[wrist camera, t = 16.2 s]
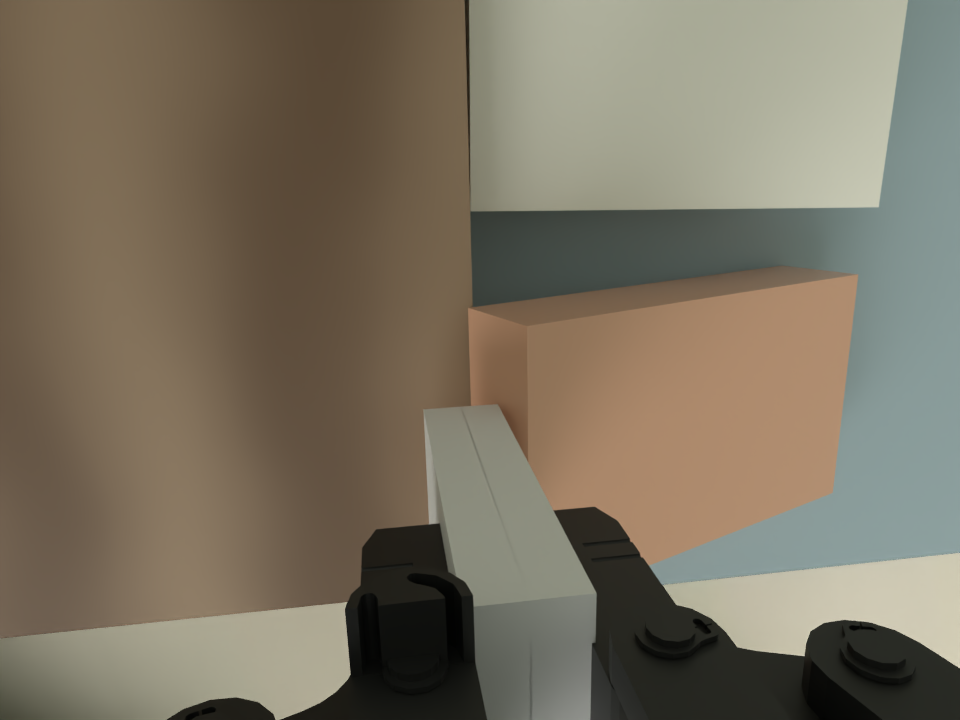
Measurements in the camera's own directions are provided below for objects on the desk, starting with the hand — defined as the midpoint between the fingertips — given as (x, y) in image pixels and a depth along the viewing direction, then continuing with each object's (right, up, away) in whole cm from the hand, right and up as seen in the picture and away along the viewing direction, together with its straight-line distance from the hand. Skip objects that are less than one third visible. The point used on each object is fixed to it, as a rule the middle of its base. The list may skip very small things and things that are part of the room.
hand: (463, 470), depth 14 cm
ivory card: (+5, +9, +3) cm, 11 cm away
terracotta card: (+4, +1, +4) cm, 6 cm away
